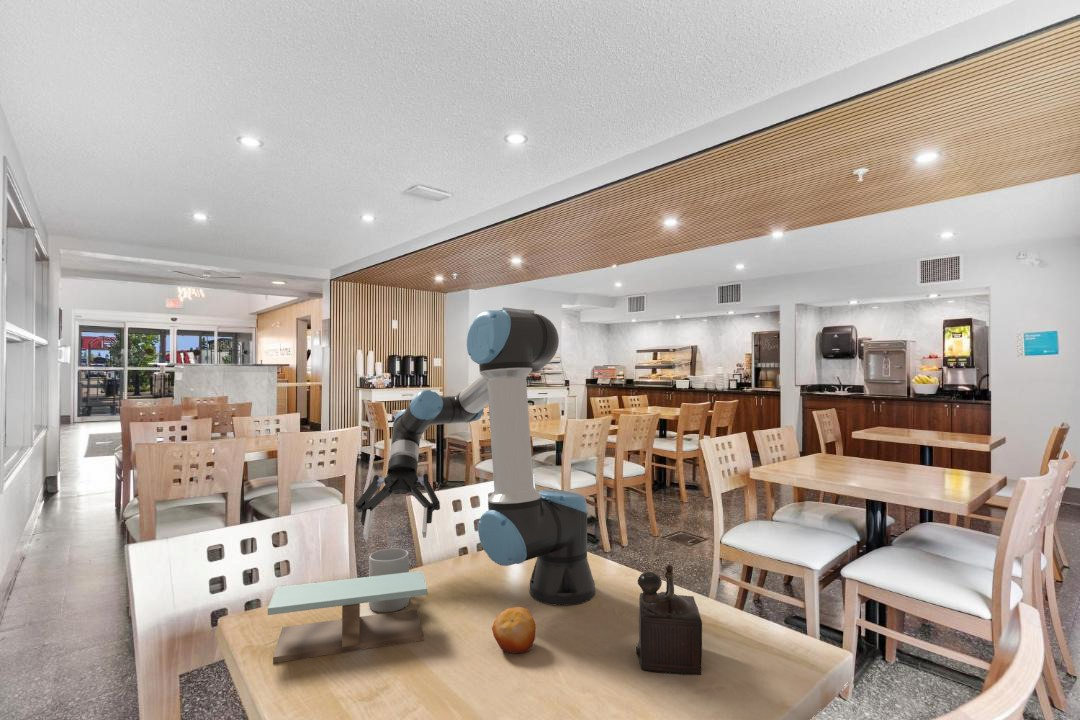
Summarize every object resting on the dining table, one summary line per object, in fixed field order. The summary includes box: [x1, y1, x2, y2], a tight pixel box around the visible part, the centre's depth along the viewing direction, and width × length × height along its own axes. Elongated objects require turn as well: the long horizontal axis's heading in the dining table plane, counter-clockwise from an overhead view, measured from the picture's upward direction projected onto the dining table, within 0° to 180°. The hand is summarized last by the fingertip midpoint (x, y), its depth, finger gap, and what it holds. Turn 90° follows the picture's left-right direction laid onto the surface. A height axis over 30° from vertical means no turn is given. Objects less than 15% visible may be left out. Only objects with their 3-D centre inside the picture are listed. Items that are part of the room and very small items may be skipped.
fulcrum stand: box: [272, 603, 424, 664], centre depth 107 cm, size 26×12×8 cm, turn 108°
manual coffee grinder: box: [635, 564, 703, 676], centre depth 96 cm, size 16×11×18 cm
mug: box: [368, 547, 410, 613], centre depth 123 cm, size 12×8×11 cm
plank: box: [267, 570, 429, 616], centre depth 107 cm, size 28×10×1 cm, turn 108°
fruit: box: [491, 606, 537, 654], centre depth 103 cm, size 8×8×8 cm
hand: (394, 536), depth 131 cm, fingers open, 13 cm apart
